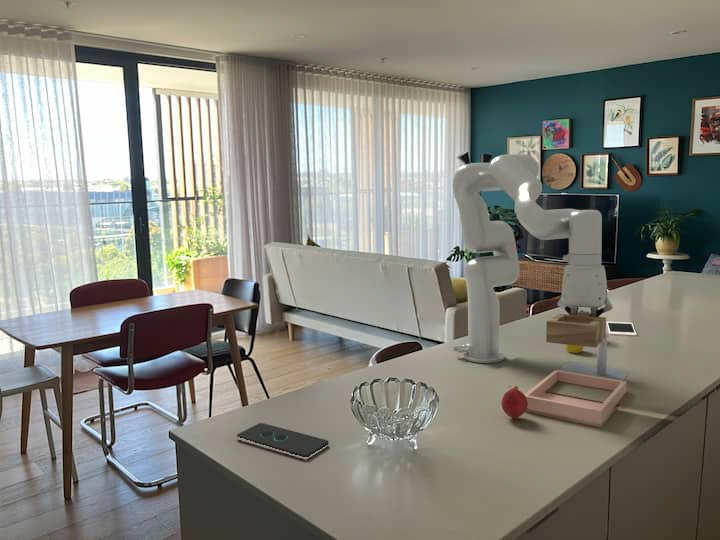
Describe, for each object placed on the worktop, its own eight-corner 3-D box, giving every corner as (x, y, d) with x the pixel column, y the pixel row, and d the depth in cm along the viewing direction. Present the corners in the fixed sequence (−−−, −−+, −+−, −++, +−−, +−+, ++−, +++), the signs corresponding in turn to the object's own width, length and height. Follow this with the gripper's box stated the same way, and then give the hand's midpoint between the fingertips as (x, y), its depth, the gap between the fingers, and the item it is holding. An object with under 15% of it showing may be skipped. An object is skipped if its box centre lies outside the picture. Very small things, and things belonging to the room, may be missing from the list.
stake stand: (630, 375, 164) (632, 332, 162) (618, 389, 153) (620, 343, 151) (568, 365, 174) (569, 324, 172) (553, 378, 163) (554, 334, 162)
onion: (513, 425, 133) (513, 391, 132) (496, 417, 138) (496, 384, 137) (532, 420, 136) (533, 387, 135) (515, 412, 141) (515, 380, 140)
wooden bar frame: (595, 347, 133) (595, 325, 133) (546, 342, 140) (546, 321, 139) (609, 333, 147) (610, 314, 146) (564, 329, 153) (564, 310, 152)
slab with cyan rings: (260, 421, 137) (330, 439, 126) (261, 428, 137) (330, 447, 126) (234, 434, 130) (305, 455, 119) (235, 442, 131) (306, 463, 120)
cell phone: (609, 336, 206) (609, 333, 206) (606, 323, 223) (606, 321, 223) (636, 337, 203) (637, 334, 203) (632, 325, 220) (632, 322, 220)
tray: (600, 427, 130) (601, 411, 130) (522, 411, 141) (522, 395, 141) (626, 396, 149) (626, 381, 148) (555, 383, 159) (555, 369, 159)
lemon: (584, 358, 180) (585, 332, 179) (565, 357, 182) (566, 332, 180) (582, 353, 186) (582, 328, 185) (563, 352, 187) (563, 328, 186)
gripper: (547, 261, 147) (547, 333, 149) (617, 263, 138) (616, 340, 140) (555, 257, 153) (555, 327, 155) (623, 259, 144) (622, 333, 146)
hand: (584, 332), depth 148 cm, fingers closed on wooden bar frame, 3 cm apart
